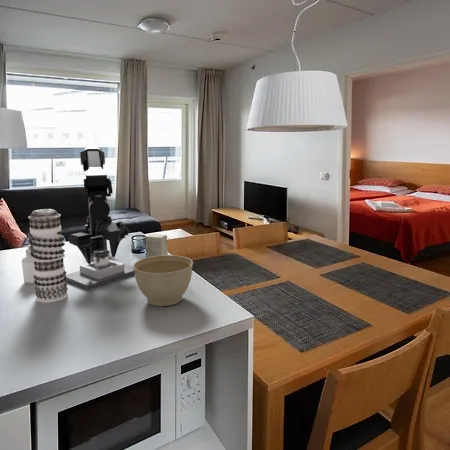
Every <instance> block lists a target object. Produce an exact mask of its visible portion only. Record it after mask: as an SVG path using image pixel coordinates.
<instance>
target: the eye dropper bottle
mask: <svg viewBox="0 0 450 450" xmlns="http://www.w3.org/2000/svg"><path fill="white" fill-rule="evenodd" d="M27 246H28V247H27V248H26V250H25V257H23V258H22V259H21V266H22V267H21V268H22V275H23V276H22V277H23V281H24V283H26V284H30V285H35V284H34V281H35V279H34V277H33V276H34V268H35V267H34V261H33V260H32V256H31V254H30V253H31V250H30V246H31V244H28V245H27Z"/></svg>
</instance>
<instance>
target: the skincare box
mask: <svg viewBox="0 0 450 450" xmlns="http://www.w3.org/2000/svg"><path fill="white" fill-rule="evenodd" d="M167 237H168V236H167V234H157V233H151V234H148V235H146V236H145V252H146V258H147V257H152V256H160V255H169V252H168V238H167Z"/></svg>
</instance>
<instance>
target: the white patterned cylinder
mask: <svg viewBox="0 0 450 450" xmlns="http://www.w3.org/2000/svg"><path fill="white" fill-rule="evenodd" d="M61 215H62V214H60V213H58V212H57V210H55V209H52V208H43V209H36V210H33V211H32V212H31V214H30V215H29V216H28V217H27V218H28V219H29V226H30V227H29V232H28V233H27V237H28V240H27V241H28V243H29V244H28V245H31V246H30V250H31V253H30V254H31V256H32V260H33V261H34V267H35V268H34V276H33V277H34V279H35V281H34V284H33V285H34V295H35V301H37V302H39V303H44V304H45V303H46V304H47V303H48V304H49V303H55V302H59V301H62V300H65V298H68V296H69V292H68V289H69V288H68V282H66V279H67V277H66V276H65V275H67V271H66V268H65V267H66V266H65V264H64V258H65V256H66V255H65V251H66V250H65V249H64V248H63V247H64V246H65V245H66V243H65V242H64V241H65V237H63V236H61V235H63V234H65V230H63V229H62V225H61V219H60V218H61Z"/></svg>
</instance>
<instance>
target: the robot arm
mask: <svg viewBox="0 0 450 450" xmlns="http://www.w3.org/2000/svg"><path fill="white" fill-rule="evenodd" d="M79 157H80V158H79V159H80V166H82V169H83V170H82V171H83V172H84V173H85V177H83V188H84V189H83V191H84V198H88V199H87V201H88V202H87V203H88V216H87V217H86V224H85V225H84V226H85V227H84V228H85V233H84V232H77V233H71V234H69V237H68V242H69V244H71V245H73V246H74V247H77V248H78V250H79V251H80V253H81V254H82V255H83V256H82V257H84V259H85V262H86V264H87V263H88V264H91V262H92V257H91V256H94V254H93V252H94V251H96V250H102V249H105V250H108V243H109V249H110V250H109V254H110V255H111V258H115V257H116V255H117V252H118V248H119V246H120V243H121V241H123V239H125V238H126V236H129V229H128V227H127V226H126V225H125V223H124V222H123V221H117V222H113V221H112V216H109V215H110V212H111V207H110V204H109V203H108V198H107V197H112V194H113V185H112V180H111V179H110V176H108V175H107V171H106V170H104V165H105V164H106V157H105V152H104V151H102V150H101V149H100V148H98V147H86V148H84V150H83V151H81V152H79Z"/></svg>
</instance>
